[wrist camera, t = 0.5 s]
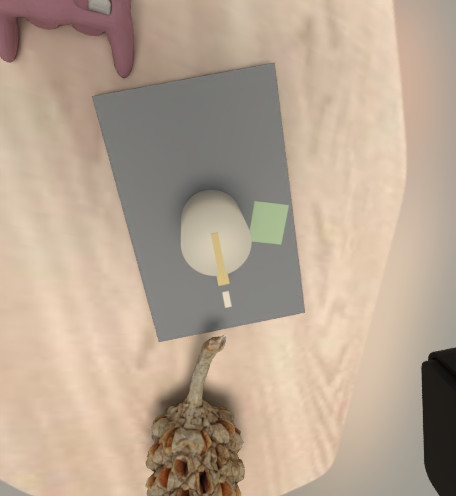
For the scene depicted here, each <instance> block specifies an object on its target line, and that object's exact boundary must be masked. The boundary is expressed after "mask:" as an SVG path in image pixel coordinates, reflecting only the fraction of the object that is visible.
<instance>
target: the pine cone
mask: <svg viewBox="0 0 456 496" xmlns="http://www.w3.org/2000/svg"><path fill="white" fill-rule="evenodd" d="M223 336H224V335H223ZM223 336H221V337H212V338H211V339H209V340H208V341H207V342H205V343H204V344H203V346H202V349H201V353H200V355H199V358H198V362H197V365H196V367H195V370H194V373H193V376H192V381H191V383H190V386H189V387H190V392H189V394H188V396H187V398H186V399H184V400H185V401H184V402H182V403H181V404H179V403H178V404H177V407H174V406H171V407H169V408H168V409H167V415H163V416H159V417H157V418H156V419H155V420H154V422H153V424H154V425H153V426H152V432H153V435H152V438H153V440H154V441H155V443H154V444H153V446H152V447H151V448H150V449H149V451H148V453H149V454H148V456H147V457H148V459H147V461H146V463H145V464H146V466H147V467H148V468H149V469H151V470H152V471H154V473H153V474H152V475H151V476H150V477H149V479H148V480H147V483H146V487H147V488H148V490H147V495H148V496H241V492H240V489H239V487H238V485H237V483H238V482H239V481H241V480H243V479H244V474H245V470H244V468H245V467H244V465H243V462H242V460H241V459H239V457H238V455H237V453H238V451H239V450H240V449H241V448H242V444H243V441H242V438H241V436H240V432H241V431H240V430H238V429H237V428H235V425H234V424H233V423H232V422H233V418H234V415H233V414H232V413H230V412H229V411H227V409H226V408H225V407H219V408H218V407H216V406H214V407H212V406H211V405H210V404H209V402H206V401H205V400H203V399H202V395H203V385H204V381H205V378H206V375H207V373H208V370H209V366H210V363H211V361H212V359H213V358H214V356H215V355H216V353H217V352H219V351H221V350H222V349H223V348H224V346H225V342H226V337H223Z"/></svg>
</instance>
